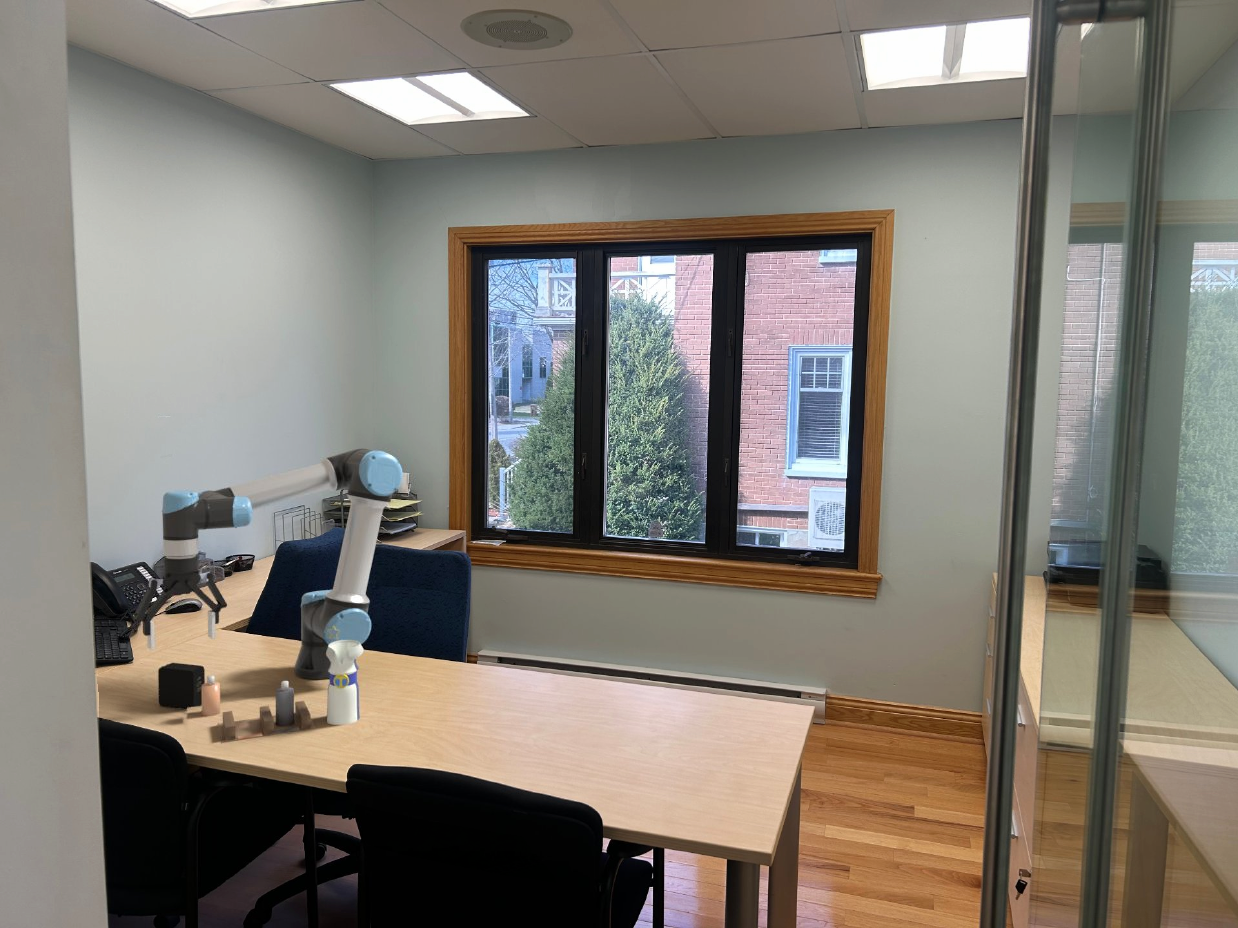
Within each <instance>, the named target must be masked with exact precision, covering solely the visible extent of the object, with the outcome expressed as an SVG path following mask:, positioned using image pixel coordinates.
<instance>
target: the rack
mask: <svg viewBox="0 0 1238 928" xmlns="http://www.w3.org/2000/svg"><path fill="white" fill-rule="evenodd" d="M217 728H218V732H219V739H220V743H221V744H225V743H231V742H238V741H244V740H250V739H256V738H263V737H269V736H270V737H271V736H275V735H277V736H278V735H282V734H290V733H296V732H302V731H309V730H314V729H316V726H315V724H314V721H313V719H312V717H311V713H310V711H309V709H308V706H307V704H306V702H305V700H301V701H294V723H293V724H292V725H289V726H284V727H281V726H277V725H276V714H275V715H273V714H272V711H271V709H270V705H263V706H259V717H255V718H247V719H242V720H235V719H234V714H233V710H229V711H222V723H221V722H220V723H217Z"/></svg>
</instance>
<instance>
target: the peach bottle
mask: <svg viewBox="0 0 1238 928" xmlns="http://www.w3.org/2000/svg"><path fill="white" fill-rule="evenodd" d="M220 713H221V683H220V682H217V681H215V675H208V676H206V682H205V684H203V685H202V705H201V716H203V717H212V716H217V715H218V714H220Z"/></svg>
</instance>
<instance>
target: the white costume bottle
mask: <svg viewBox="0 0 1238 928" xmlns="http://www.w3.org/2000/svg"><path fill="white" fill-rule="evenodd" d="M327 631H328V632H329V633H330V637H329V639H330V638H333V637H334V638H336V639H337V634H338V633H339V632H340V631H339V630H336V629H335V626H334V625H333V627H332V629H328V630H327ZM363 653H364V648H363V646H362V644H360V642H358V641H355V640H340V641H335V642H332V643H330V644H329V645H328V649H327V652H326V655H327V657H328V658H329V660H330V662H331V665H330V667H329V669H328V671H329V672H330V678H329V684H328V686H327V705H326V706H327V708H326V722H327V724H330V725H334V726H344V725H345V726H346V725H350V724H354V723H356V722H358V721H359V720H360V688H359V682H358V670H359V669H360V667H359V666H358V663H357V659H358V658H359V657H360V656H362V655H363Z"/></svg>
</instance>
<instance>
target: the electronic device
mask: <svg viewBox="0 0 1238 928" xmlns="http://www.w3.org/2000/svg"><path fill="white" fill-rule="evenodd" d="M205 670H206V669H205V667H204V666H203V665H199V664H198V665H197V664H190V663H189V664H188V663H180V662H170V663H167V664H166V665H161V667H159V668H158V671H157V674H158V675H157V678H158V679H157V680H158V683H157V684H158V686H157V687H158V705H159V706H160V707H161V708H169V709H179V710H188V709H189V708H194V707H195V708H196V707H200V706H201V707H202V685H203V684H205V683H206V681H205V680H206V678H205V674H206V672H205Z"/></svg>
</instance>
